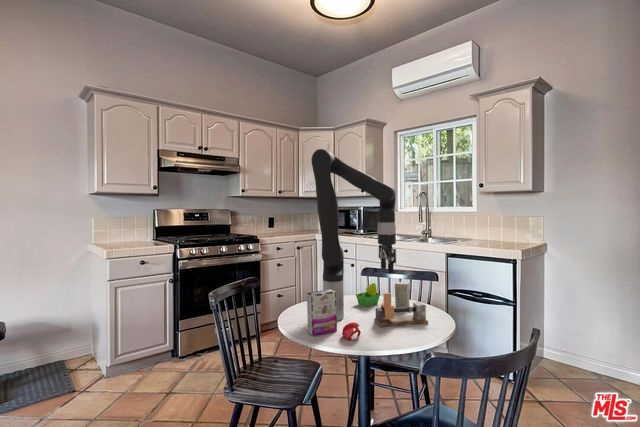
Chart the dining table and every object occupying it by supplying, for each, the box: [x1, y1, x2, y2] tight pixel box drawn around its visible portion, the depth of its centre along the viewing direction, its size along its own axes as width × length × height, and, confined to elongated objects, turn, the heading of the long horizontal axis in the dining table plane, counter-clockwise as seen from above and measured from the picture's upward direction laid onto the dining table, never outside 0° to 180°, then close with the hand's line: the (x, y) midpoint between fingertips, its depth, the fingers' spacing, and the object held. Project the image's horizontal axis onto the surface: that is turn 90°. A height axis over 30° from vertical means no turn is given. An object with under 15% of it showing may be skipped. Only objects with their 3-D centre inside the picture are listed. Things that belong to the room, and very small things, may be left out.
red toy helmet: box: [341, 322, 362, 341], centre depth 136 cm, size 8×6×6 cm
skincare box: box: [394, 281, 410, 308], centre depth 173 cm, size 6×4×12 cm
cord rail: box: [373, 301, 429, 329], centre depth 152 cm, size 21×8×8 cm, turn 100°
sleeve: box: [380, 292, 395, 319], centre depth 151 cm, size 4×5×10 cm
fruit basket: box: [355, 282, 381, 307], centre depth 179 cm, size 11×9×11 cm
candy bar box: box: [306, 289, 338, 337], centre depth 142 cm, size 11×5×16 cm, turn 117°
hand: (387, 270), depth 150 cm, fingers open, 8 cm apart
